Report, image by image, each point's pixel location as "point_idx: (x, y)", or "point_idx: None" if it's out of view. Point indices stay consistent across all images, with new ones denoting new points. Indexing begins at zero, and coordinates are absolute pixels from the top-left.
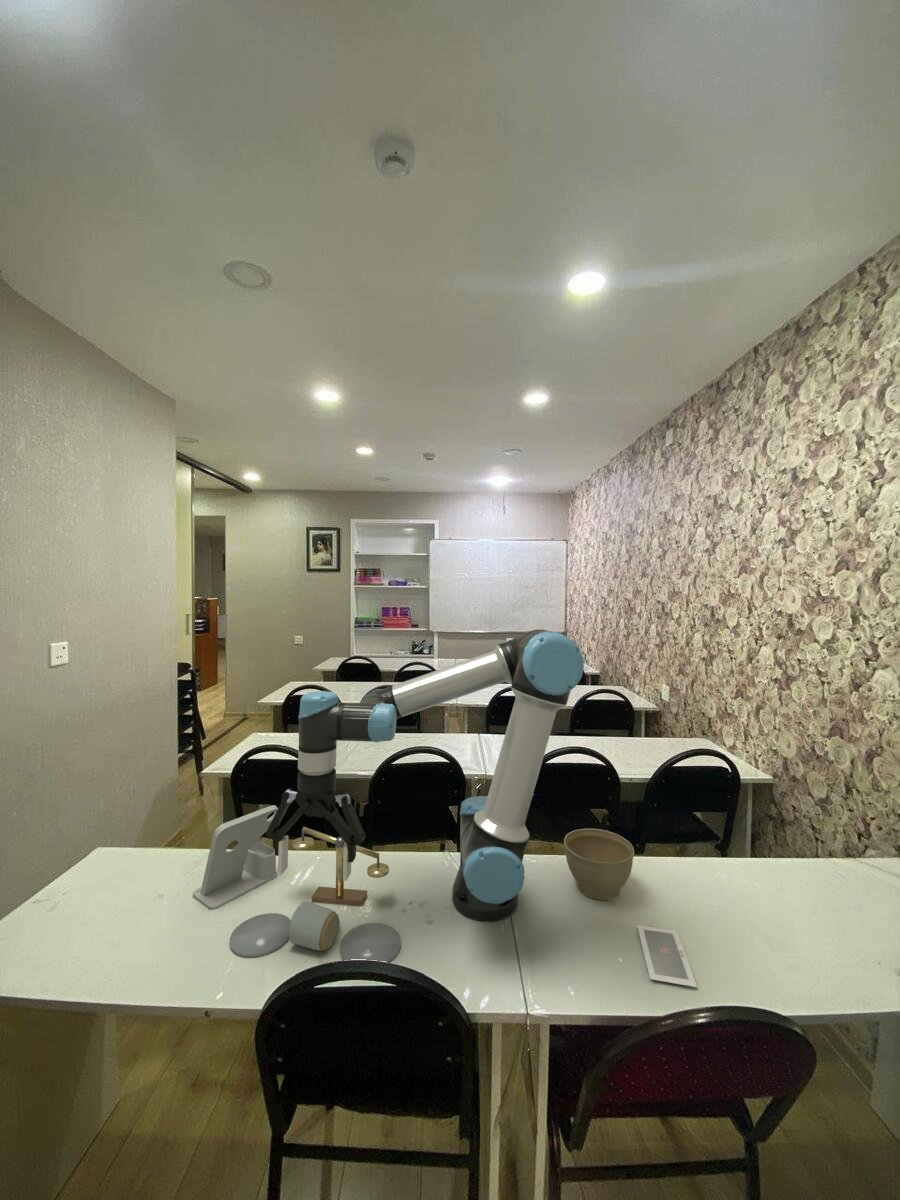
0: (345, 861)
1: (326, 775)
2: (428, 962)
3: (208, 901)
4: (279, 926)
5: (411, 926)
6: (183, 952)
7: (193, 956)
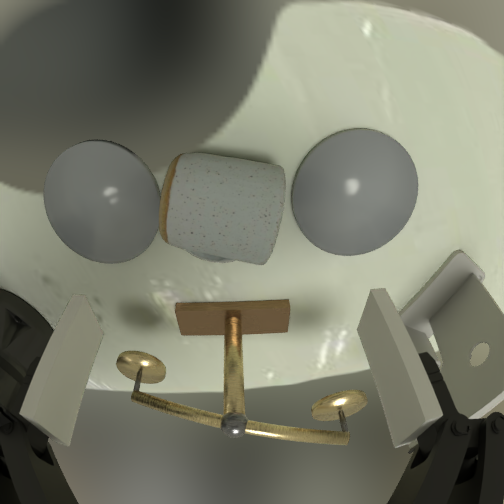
0: (46, 358)
1: None
2: (5, 194)
3: (466, 263)
4: (328, 219)
5: (64, 267)
6: (472, 145)
7: (456, 134)
